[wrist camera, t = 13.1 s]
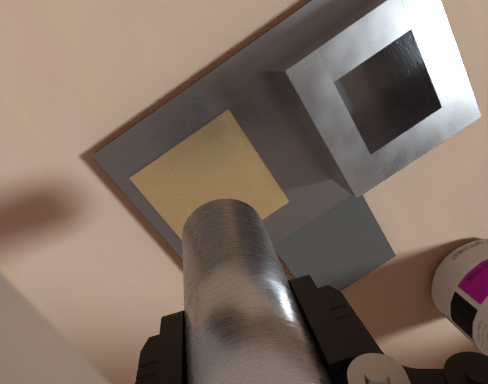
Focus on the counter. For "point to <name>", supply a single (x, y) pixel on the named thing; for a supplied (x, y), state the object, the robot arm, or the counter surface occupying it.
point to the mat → (337, 245)
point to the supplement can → (465, 291)
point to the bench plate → (257, 121)
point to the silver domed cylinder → (241, 304)
